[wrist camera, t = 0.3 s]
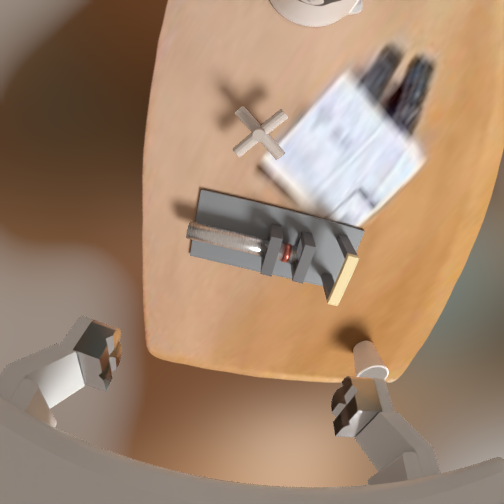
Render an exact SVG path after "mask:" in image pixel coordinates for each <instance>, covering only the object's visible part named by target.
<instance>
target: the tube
mask: <svg viewBox="0 0 504 504" xmlns="http://www.w3.org/2000/svg"><path fill="white" fill-rule="evenodd" d="M186 238H187V239H192V240H196V241H200V242H204V243H208V244H213V245H217V246H221V247H225V248H230V249H234V250H238V251H242V252H247V253H251V254H255V255H260V256H264V257H265V255H266V252H267V248H268V245H269V241H270V240H268V239H264V238H260V237H256V236H251V235H247V234H243V233H239V232H235V231H230V230H226V229H222V228H217V227H213V226H209V225H205V224H200V223H196V222H192V221H190V223H189V226H188V229H187V235H186ZM296 256H297V246H293V245H292V244H288V243H282V244H281V247H280V250H279V253H278V257H277V260H280V261H281V262H286V263H288V262H289V263H294V261H295V259H296Z"/></svg>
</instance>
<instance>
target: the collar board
mask: <svg viewBox="0 0 504 504" xmlns="http://www.w3.org/2000/svg"><path fill="white" fill-rule="evenodd" d="M195 222H196V223H200V224H205V225H209V226H213V227H217V228H222V229H226V230H230V231H235V232H239V233H243V234H247V235H251V236H256V237H260V238H264V239H268V240H270V241H269V245H268V248H267V252H266V255H265V257H264V256H260V255H255V254H251V253H247V252H242V251H238V250H234V249H230V248H225V247H221V246H217V245H213V244H208V243H204V242H200V241H196V240H192V246H191V252H190V256H194V257H198V258H203V259H207V260H211V261H215V262H220V263H224V264H228V265H232V266H237V267H241V268H245V269H249V270H254V271H258V272H261V274H263V275H268V276H272V275H276V276H280V277H284V278H289V279H292V281H294V282H299V283H303V282H307V283H311V284H316V285H320V286H323V287H324V291H325V295H326V299H327V303H328V304H331V305H336V306H338V304H339V302H340V300H341V298H342V296H343V293H344V291H345V289H346V287H347V285H348V283H349V280H350V278H351V276H352V274H353V272H354V269H355V267H356V265H357V262H358V260H359V257H358V255H357V253H356V251H357V249H358V246H359V244H360V241H361V239H362V237H363V234H364V232H365V231H364V230H361V229H358V228H354V227H351V226H347V225H344V224H340V223H337V222H333V221H329V220H326V219H322V218H318V217H315V216H311V215H307V214H303V213H300V212H296V211H292V210H288V209H284V208H280V207H276V206H272V205H268V204H264V203H260V202H256V201H252V200H248V199H243V198H239V197H235V196H231V195H226V194H222V193H217V192H213V191H209V190H204V189H201V193H200V199H199V204H198V210H197V216H196V221H195ZM282 243H288V244H292V245H293V246H297V256H296V259H295V261H294V263H289V262H288V263H286V262H281V261H280V260H277V257H278V253H279V250H280V247H281V244H282Z"/></svg>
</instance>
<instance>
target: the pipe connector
mask: <svg viewBox="0 0 504 504" xmlns="http://www.w3.org/2000/svg"><path fill="white" fill-rule="evenodd" d="M235 114H236V115H237V116H238V117H239V119H240V120H241V121H242V122H243V123H244V124H245V125H246V126H247V127H248V128H249V129H250V131H251V132H252V133H251V134H249V135H248V136H247V137H246V138H245V139H243V140H242V141H241V142H240V143H239V144H238V145H236V146H235V147H234V148H233V151H234V152H235V153H236V154H237V155H238V156H239V157H241V156H242V155H243V154H244V153H246V152H247V151H248V150H249V149H250V148H252V147H253V146H254V145H255V144H256V143H258V142H261V143H262V144H263V145H264V146H265V147H266V149H267V150H268V151H269V152H270V153H271V154H272V155H273V157H274V158H275V159H276V160H277V159H279V158H280V157H281V156H283V155H284V154H285V152H284V151H283V150H282V149H281V147H280V146H279V145H278V144H277V143H276V142H275V141H274V139H273V138H272V137H271V136H270V135H269V133H270V132H271V131H272V130H274V129H275V128H276V127H277V126H279V125H280V124H281V123H282V122H284V121H285V120H286V119H288V116H287V115H286V114H285V113H284V112H283V111H282V110H281V109H280V110H279V111H278V112H276V113H275V114H274V115H273V116H271V117H270V118H269V119H268V120H266V121H265V122H264V123H263V124H262V125H260V124H259V122H258V121H257V120H256V119H255V118H254V117H253V116H252V115H251V114H250V112H249V111H248V110H247V109H246V108H245V107H244V106H242V107H241V108H240V109H238V110H237V111H236V112H235Z"/></svg>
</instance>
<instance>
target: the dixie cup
mask: <svg viewBox="0 0 504 504" xmlns="http://www.w3.org/2000/svg"><path fill="white" fill-rule="evenodd" d="M353 354H354V365H355V377H366V378H378V379H383V380H385V379H386V378H387V376H388V373H389V371H388V368H387V367H386V366H385V365H384V363H383V361H382V359H381V357H380V355H379V353H378V351H377V349H376V348H375V346H374V344H373V342H371V341H362V342H359V343H358V344H356V345H355V347H354V349H353Z"/></svg>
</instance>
